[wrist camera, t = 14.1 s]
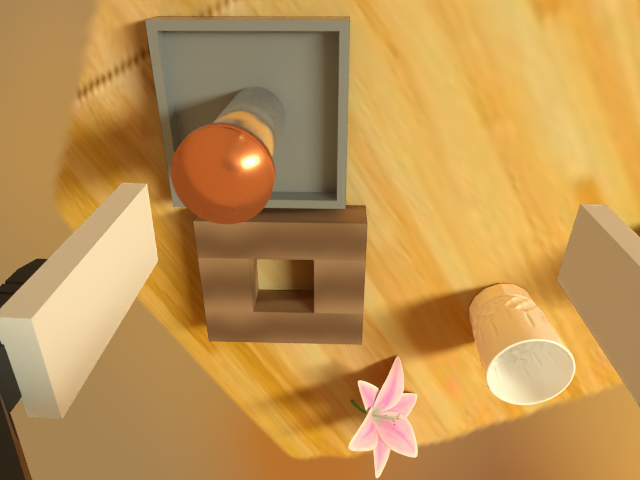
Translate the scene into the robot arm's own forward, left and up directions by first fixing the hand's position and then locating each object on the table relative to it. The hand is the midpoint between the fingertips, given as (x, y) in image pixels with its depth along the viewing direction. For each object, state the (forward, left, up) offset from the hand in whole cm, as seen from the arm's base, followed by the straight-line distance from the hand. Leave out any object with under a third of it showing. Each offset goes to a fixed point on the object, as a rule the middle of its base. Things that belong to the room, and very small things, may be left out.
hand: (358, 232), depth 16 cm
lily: (+37, +5, -32) cm, 50 cm away
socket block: (+20, -6, -32) cm, 38 cm away
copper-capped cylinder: (+4, -8, -31) cm, 32 cm away
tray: (+4, -8, -32) cm, 33 cm away
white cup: (+25, +17, -32) cm, 44 cm away
